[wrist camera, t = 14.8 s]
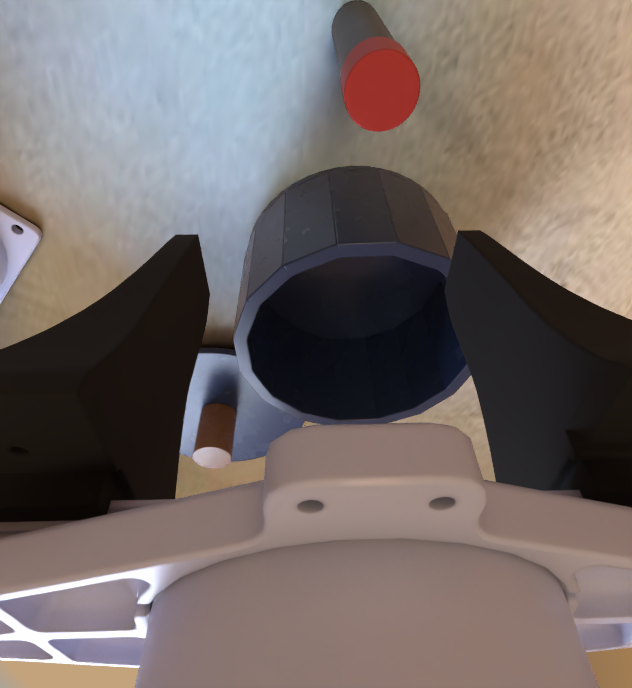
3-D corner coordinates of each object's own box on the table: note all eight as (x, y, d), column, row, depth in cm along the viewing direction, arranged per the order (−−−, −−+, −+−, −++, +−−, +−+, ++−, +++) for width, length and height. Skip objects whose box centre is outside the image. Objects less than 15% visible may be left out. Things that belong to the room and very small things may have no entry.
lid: (102, 408, 33) (81, 465, 29) (192, 309, 27) (177, 367, 24) (240, 466, 38) (235, 519, 35) (339, 394, 32) (344, 450, 29)
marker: (318, 30, 18) (328, 94, 12) (356, -17, 17) (385, 28, 11) (354, 70, 19) (378, 147, 13) (392, 27, 18) (436, 90, 12)
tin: (205, 271, 25) (184, 358, 20) (353, 112, 20) (370, 181, 15) (347, 365, 30) (356, 451, 26) (493, 259, 25) (538, 344, 20)
